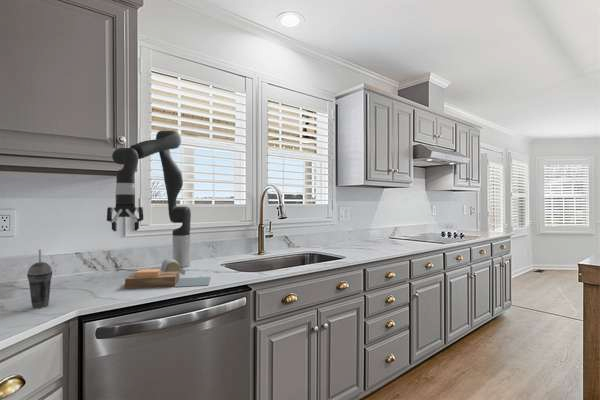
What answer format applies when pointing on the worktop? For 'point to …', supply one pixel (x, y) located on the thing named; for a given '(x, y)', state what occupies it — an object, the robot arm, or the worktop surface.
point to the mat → (193, 282)
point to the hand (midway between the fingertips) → (125, 230)
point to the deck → (152, 280)
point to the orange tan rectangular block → (148, 272)
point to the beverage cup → (39, 283)
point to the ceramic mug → (171, 266)
